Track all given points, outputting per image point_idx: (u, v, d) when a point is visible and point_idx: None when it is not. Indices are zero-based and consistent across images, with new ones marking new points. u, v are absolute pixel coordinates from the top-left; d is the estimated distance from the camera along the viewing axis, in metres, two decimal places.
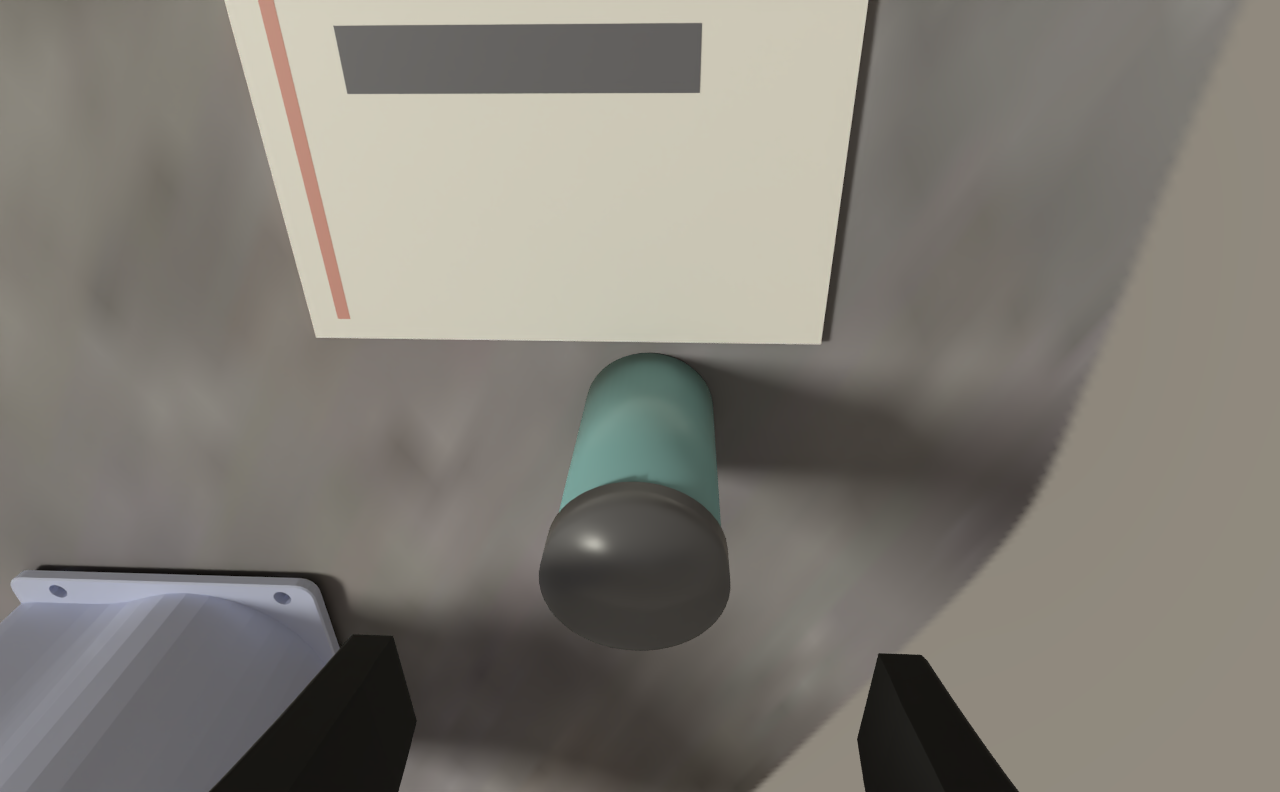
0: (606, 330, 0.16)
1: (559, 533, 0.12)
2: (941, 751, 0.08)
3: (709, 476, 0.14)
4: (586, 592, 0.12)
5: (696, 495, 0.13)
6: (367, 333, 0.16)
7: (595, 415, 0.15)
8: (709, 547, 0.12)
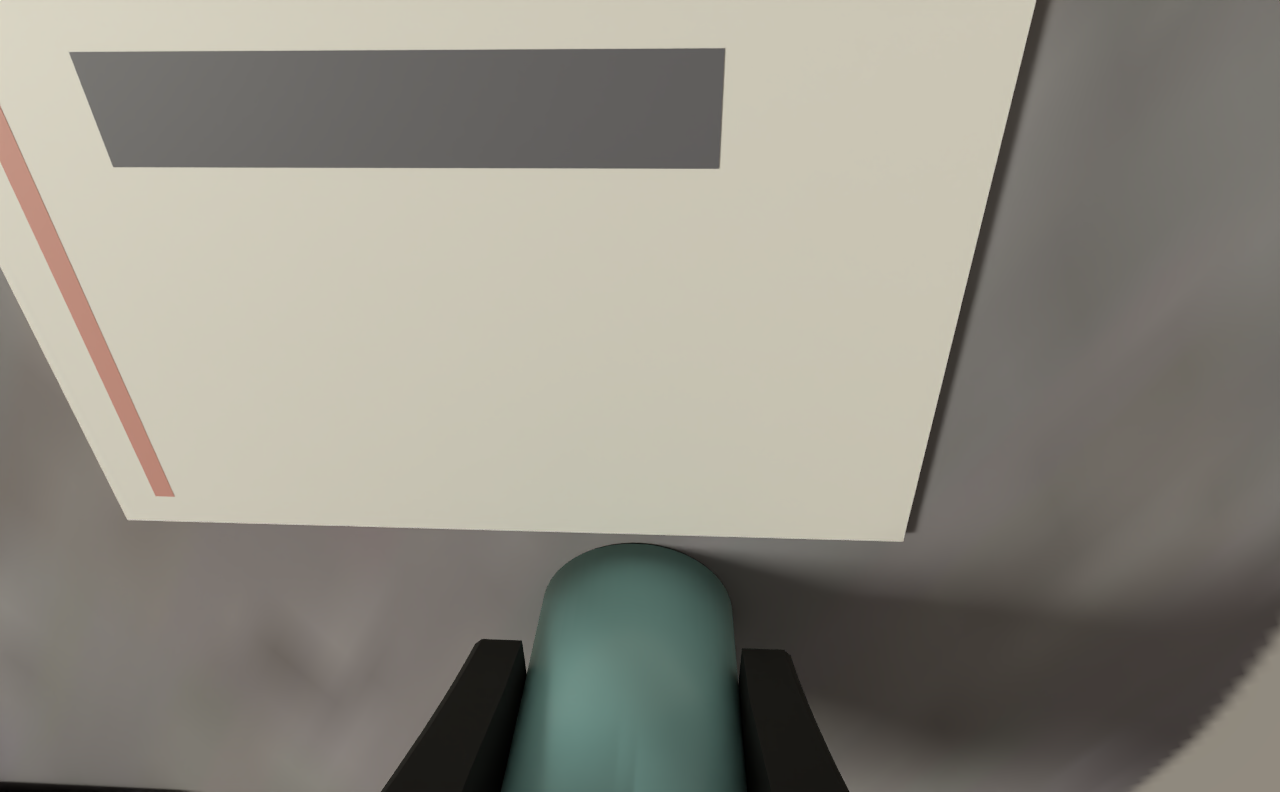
0: (569, 518, 0.10)
1: None
2: (776, 744, 0.08)
3: None
4: None
5: None
6: (204, 514, 0.11)
7: (546, 682, 0.09)
8: None
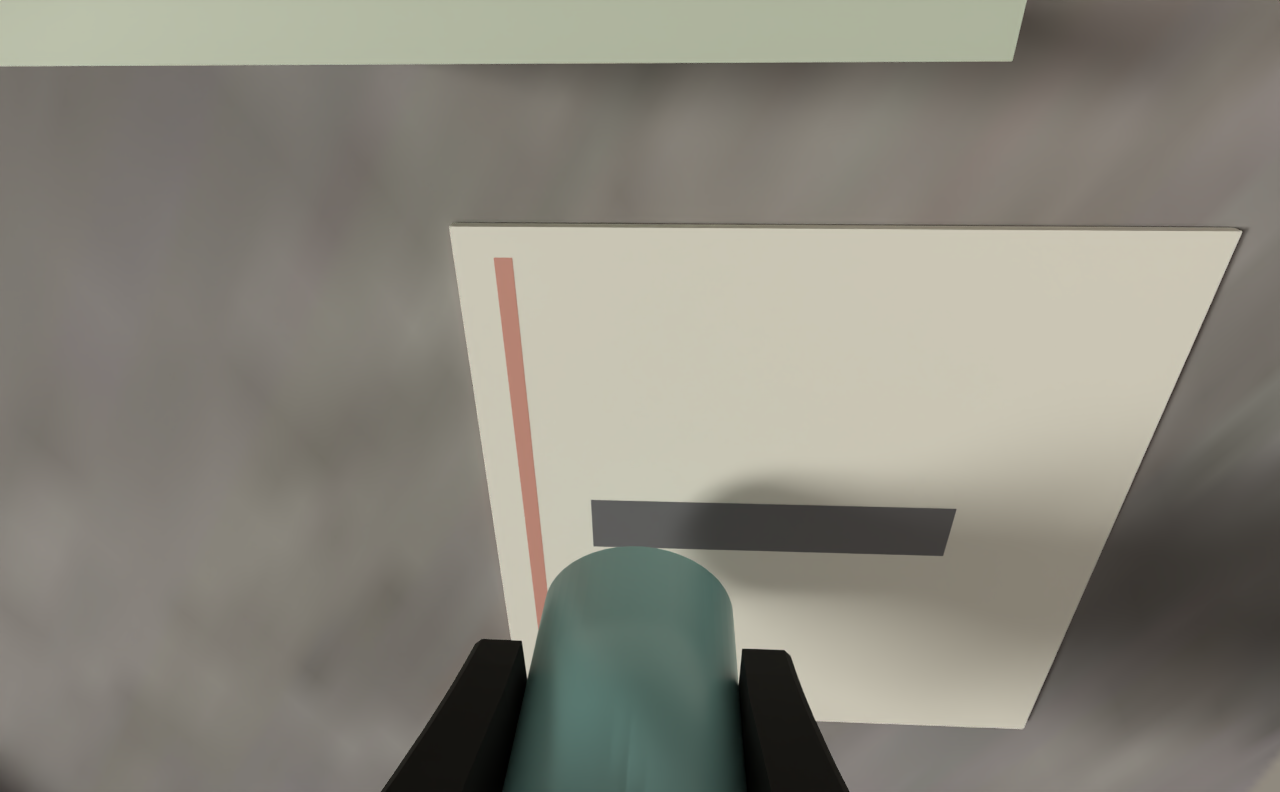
0: None
1: None
2: (776, 744, 0.08)
3: None
4: None
5: None
6: None
7: (541, 687, 0.09)
8: None
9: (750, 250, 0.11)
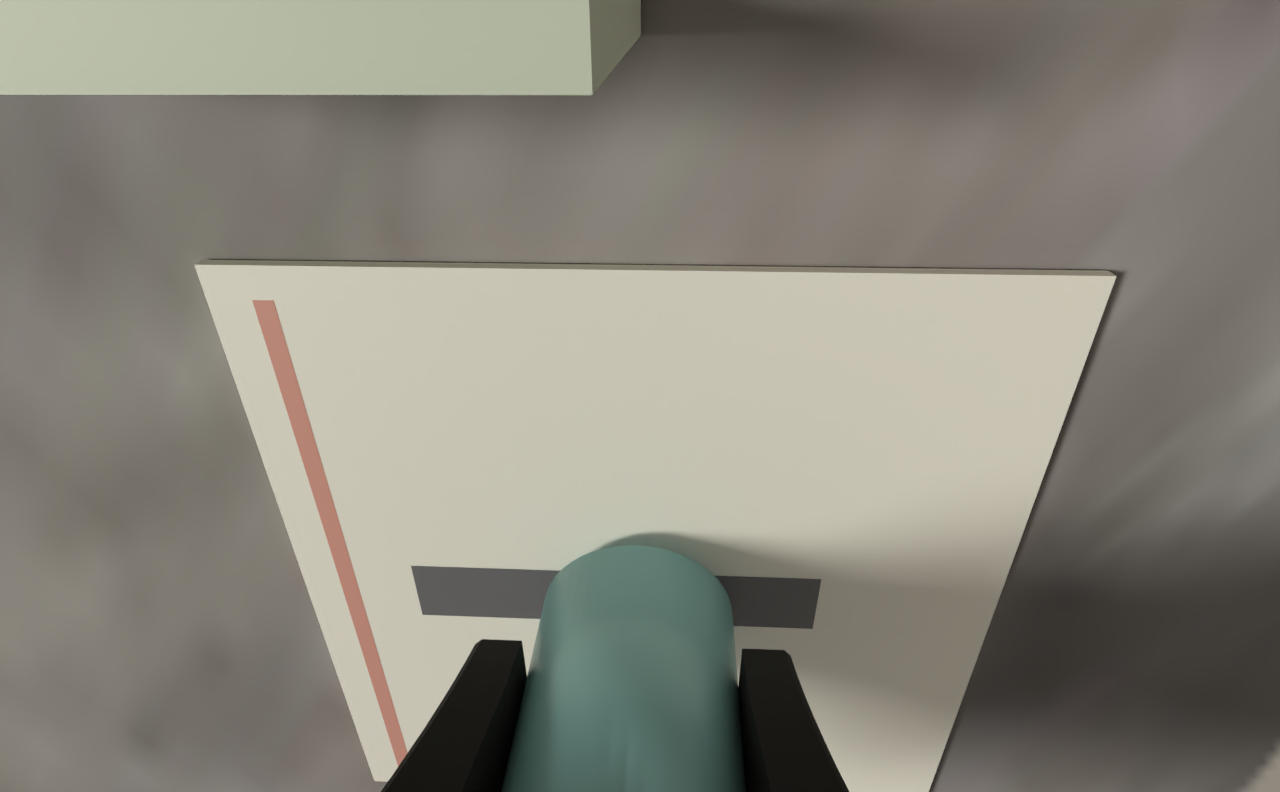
0: None
1: None
2: (776, 744, 0.08)
3: None
4: None
5: None
6: None
7: (541, 686, 0.09)
8: None
9: (546, 294, 0.09)
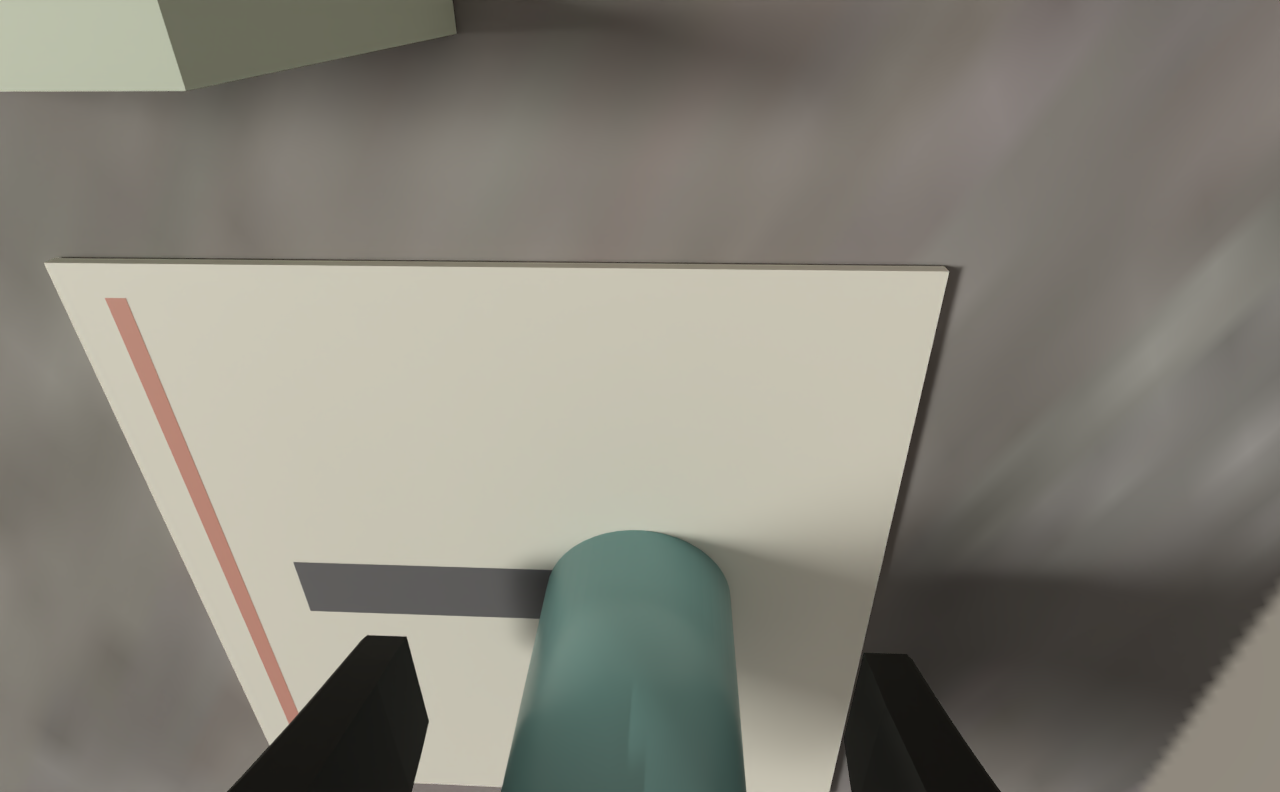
0: None
1: None
2: (923, 751, 0.08)
3: None
4: None
5: None
6: None
7: (546, 663, 0.10)
8: None
9: (392, 291, 0.09)
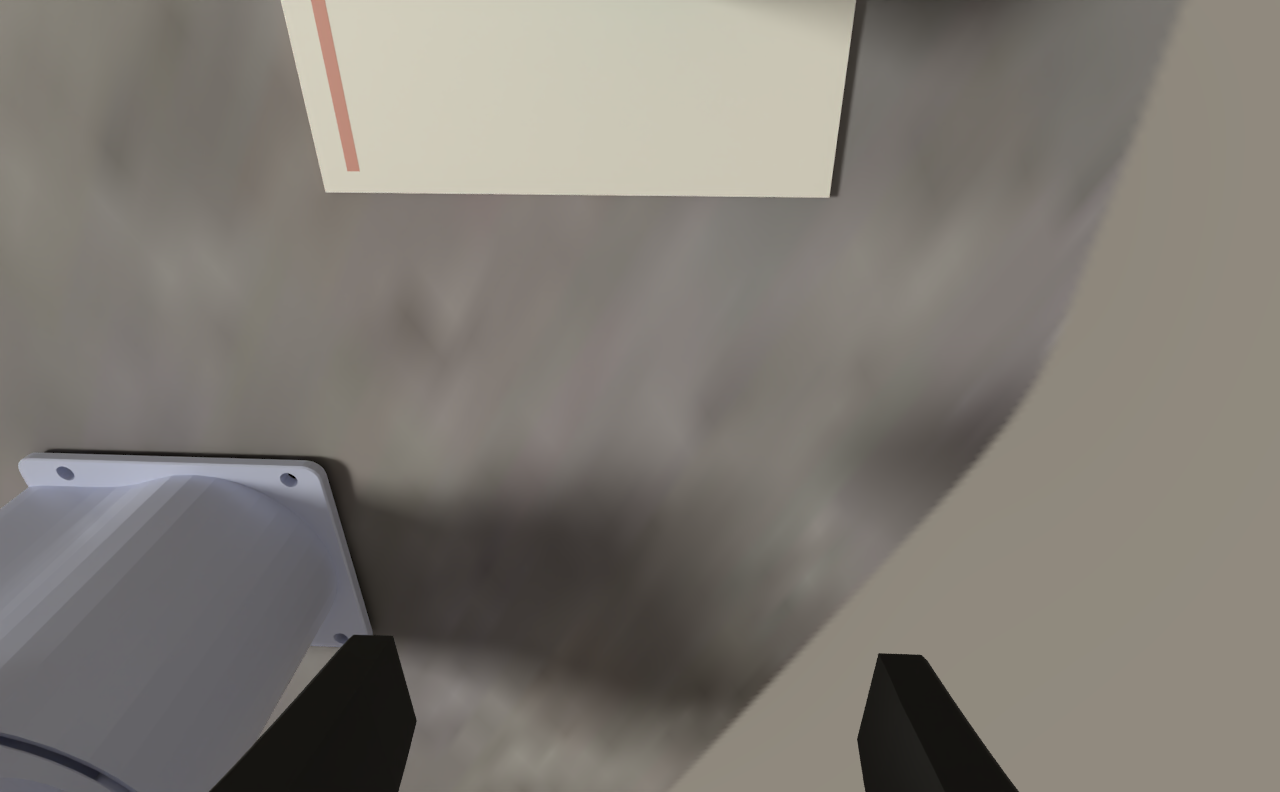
0: (615, 182, 0.16)
1: None
2: (941, 751, 0.08)
3: None
4: None
5: None
6: (376, 186, 0.17)
7: None
8: None
9: None
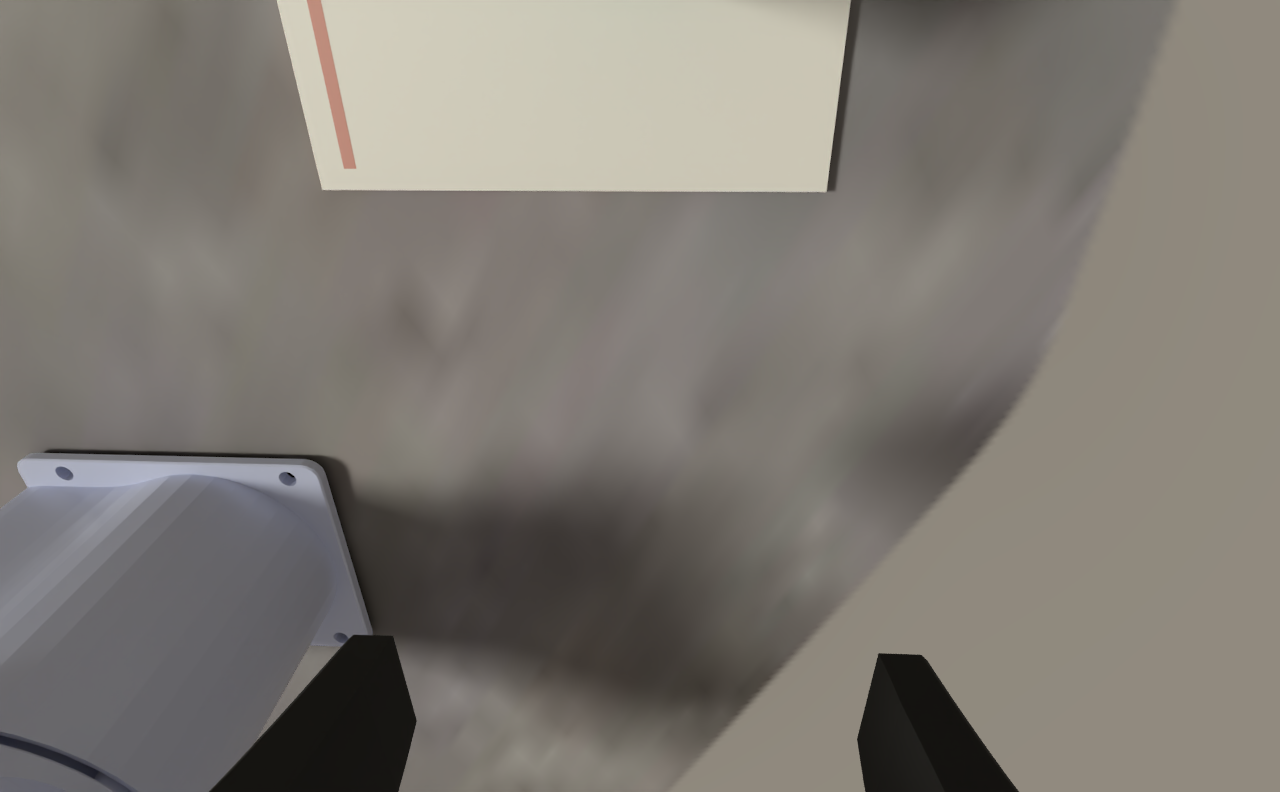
0: (612, 178, 0.16)
1: None
2: (941, 751, 0.08)
3: None
4: None
5: None
6: (373, 184, 0.17)
7: None
8: None
9: None
